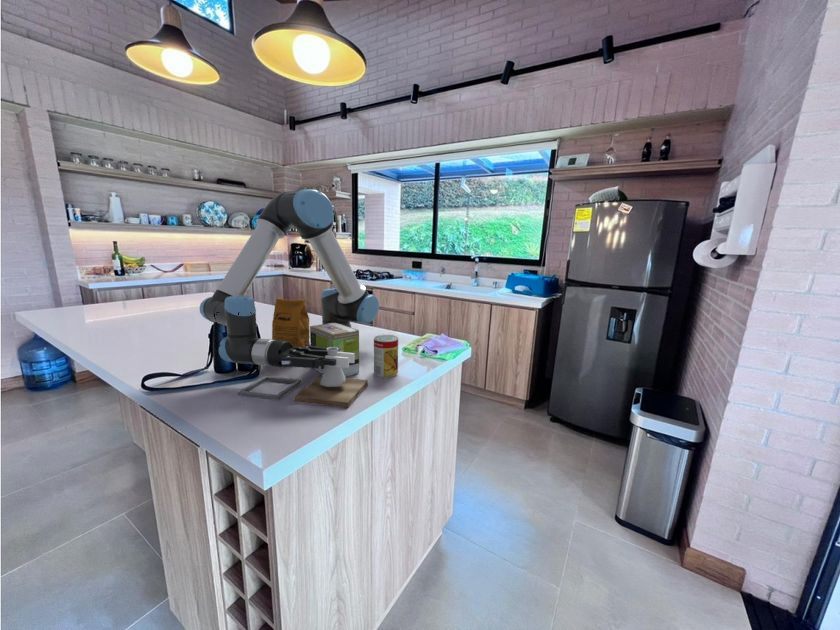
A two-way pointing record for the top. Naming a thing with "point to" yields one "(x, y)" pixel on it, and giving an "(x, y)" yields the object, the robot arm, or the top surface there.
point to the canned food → (385, 355)
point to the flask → (332, 372)
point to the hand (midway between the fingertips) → (351, 360)
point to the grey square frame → (270, 396)
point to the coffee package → (291, 322)
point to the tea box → (337, 342)
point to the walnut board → (332, 393)
